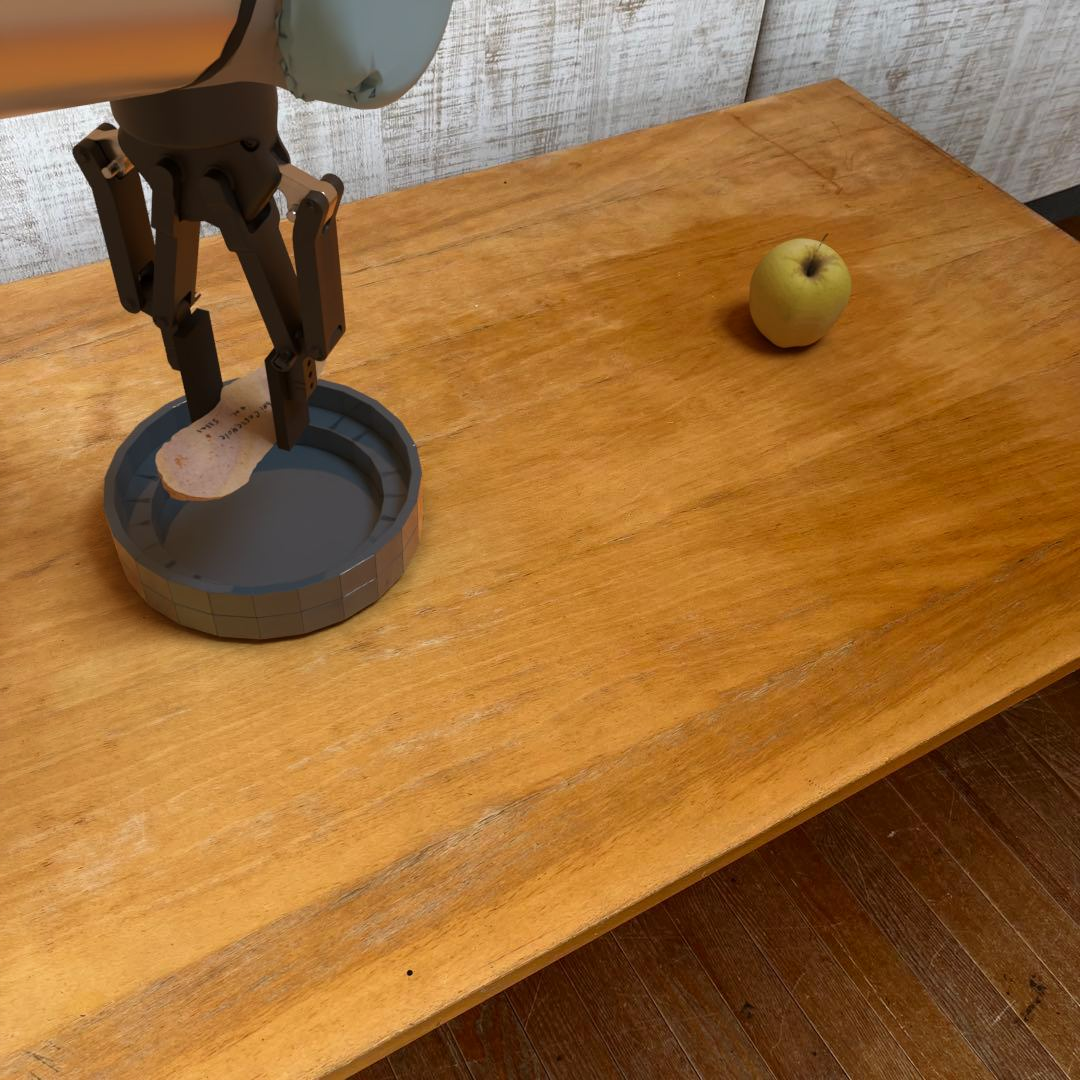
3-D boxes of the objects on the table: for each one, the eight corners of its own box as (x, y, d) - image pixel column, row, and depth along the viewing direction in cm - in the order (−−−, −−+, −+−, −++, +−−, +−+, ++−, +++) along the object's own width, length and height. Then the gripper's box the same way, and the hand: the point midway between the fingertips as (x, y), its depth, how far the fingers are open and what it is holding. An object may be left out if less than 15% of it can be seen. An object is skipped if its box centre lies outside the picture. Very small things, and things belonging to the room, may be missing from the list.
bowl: (349, 682, 72) (343, 632, 69) (58, 593, 76) (38, 541, 72) (464, 467, 86) (464, 415, 82) (212, 399, 89) (202, 347, 85)
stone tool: (283, 336, 74) (133, 484, 64) (286, 318, 73) (134, 466, 63) (353, 376, 74) (213, 530, 64) (357, 359, 73) (215, 514, 63)
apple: (748, 280, 102) (805, 193, 94) (825, 330, 101) (889, 247, 93) (714, 328, 97) (772, 241, 89) (795, 382, 96) (860, 298, 89)
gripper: (403, 34, 53) (416, 420, 70) (54, -38, 56) (149, 349, 73) (332, 110, 48) (365, 505, 65) (-46, 27, 51) (81, 425, 68)
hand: (251, 422), depth 69 cm, fingers closed on stone tool, 5 cm apart
